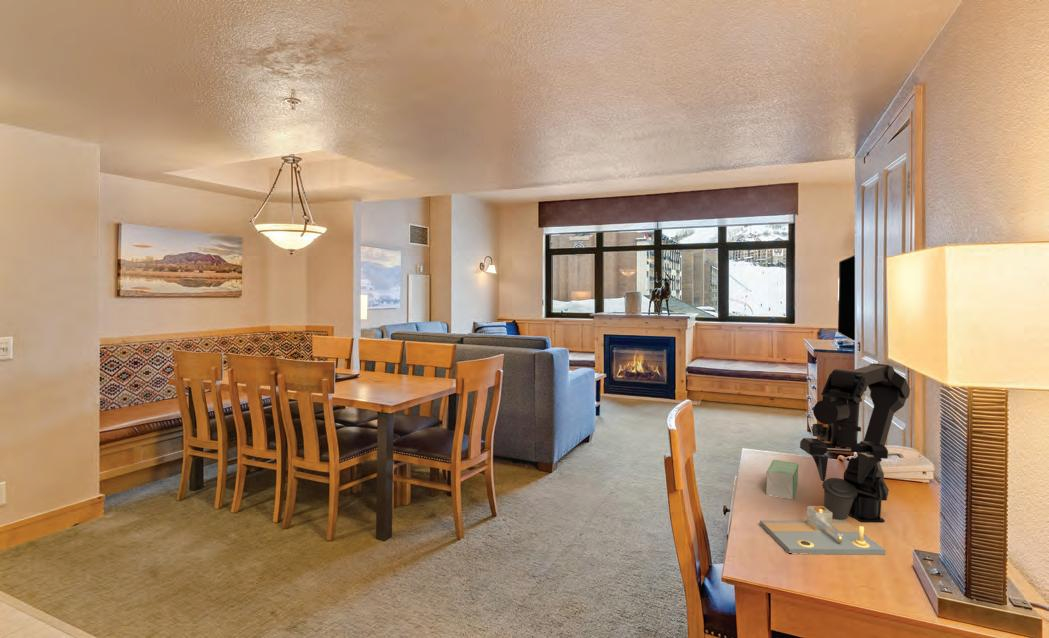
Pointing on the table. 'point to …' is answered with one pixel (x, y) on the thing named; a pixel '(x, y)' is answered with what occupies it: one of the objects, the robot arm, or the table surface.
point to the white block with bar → (822, 520)
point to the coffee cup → (838, 497)
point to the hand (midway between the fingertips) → (841, 481)
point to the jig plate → (820, 538)
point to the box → (782, 479)
